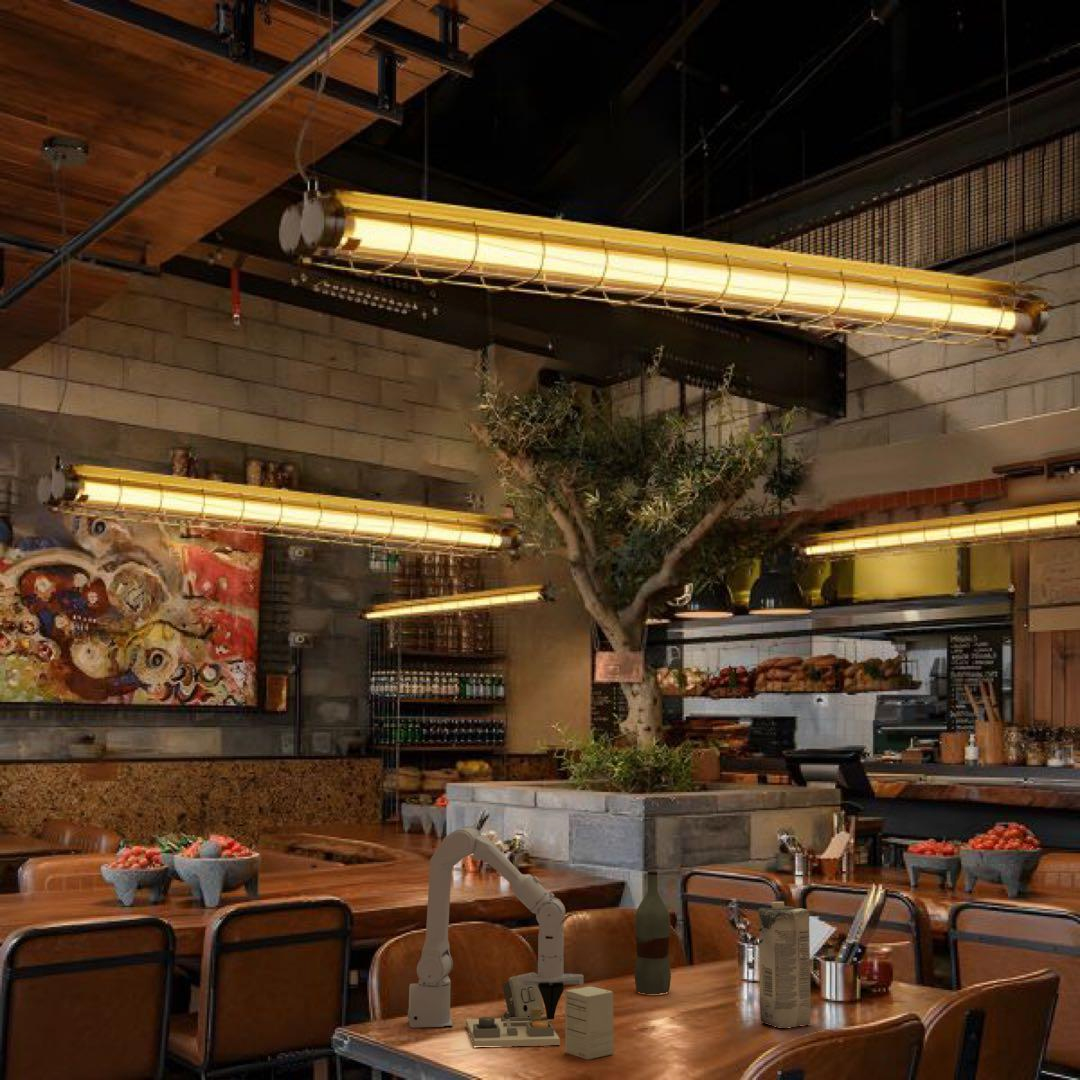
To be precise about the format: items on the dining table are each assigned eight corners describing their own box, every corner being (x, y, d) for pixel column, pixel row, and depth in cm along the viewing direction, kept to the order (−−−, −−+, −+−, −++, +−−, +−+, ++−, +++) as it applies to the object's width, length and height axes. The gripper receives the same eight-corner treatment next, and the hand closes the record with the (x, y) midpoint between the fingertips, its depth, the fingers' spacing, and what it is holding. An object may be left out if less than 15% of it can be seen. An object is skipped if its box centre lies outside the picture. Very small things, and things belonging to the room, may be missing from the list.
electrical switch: (519, 1020, 307) (516, 978, 308) (501, 1019, 310) (499, 977, 312) (544, 1013, 314) (542, 972, 316) (527, 1012, 317) (525, 971, 319)
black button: (479, 1028, 284) (479, 1020, 284) (477, 1024, 288) (478, 1017, 288) (495, 1028, 285) (495, 1020, 285) (493, 1024, 288) (493, 1016, 288)
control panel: (474, 1048, 280) (474, 1032, 281) (466, 1026, 300) (466, 1011, 300) (559, 1046, 283) (559, 1030, 283) (545, 1024, 303) (545, 1009, 303)
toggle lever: (507, 1034, 286) (503, 1013, 286) (506, 1032, 287) (502, 1011, 288) (514, 1032, 286) (510, 1011, 287) (513, 1030, 288) (509, 1009, 288)
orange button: (533, 1032, 286) (533, 1024, 286) (531, 1028, 289) (531, 1020, 289) (549, 1031, 286) (549, 1024, 286) (546, 1028, 290) (546, 1020, 290)
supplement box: (591, 1047, 282) (591, 985, 284) (614, 1054, 276) (614, 991, 278) (563, 1053, 277) (564, 989, 279) (587, 1060, 272) (587, 995, 273)
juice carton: (816, 1026, 303) (814, 903, 307) (780, 1031, 298) (779, 906, 301) (790, 1018, 311) (788, 898, 314) (754, 1023, 305) (753, 901, 309)
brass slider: (532, 1023, 296) (532, 1009, 296) (530, 1020, 299) (530, 1006, 299) (541, 1022, 296) (541, 1009, 297) (539, 1019, 299) (539, 1006, 300)
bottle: (629, 989, 342) (629, 868, 346) (663, 988, 344) (663, 868, 348) (641, 997, 333) (641, 873, 337) (676, 995, 335) (675, 872, 339)
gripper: (521, 958, 295) (520, 1023, 293) (586, 957, 297) (585, 1021, 295) (516, 953, 302) (516, 1016, 300) (580, 952, 304) (580, 1014, 302)
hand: (550, 1018), depth 298 cm, fingers closed
